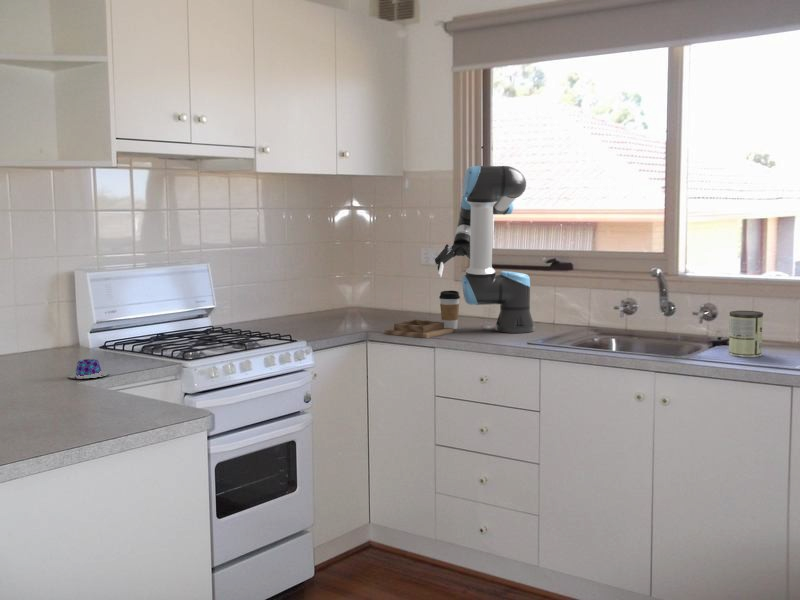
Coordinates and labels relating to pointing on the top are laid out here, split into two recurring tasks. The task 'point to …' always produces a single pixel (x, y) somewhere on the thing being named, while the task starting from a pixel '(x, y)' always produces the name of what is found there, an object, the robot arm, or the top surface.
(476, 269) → the robot arm
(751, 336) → the coffee can
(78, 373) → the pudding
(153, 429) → the top surface
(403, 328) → the cup rack
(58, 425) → the top surface
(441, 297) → the coffee cup
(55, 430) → the top surface
